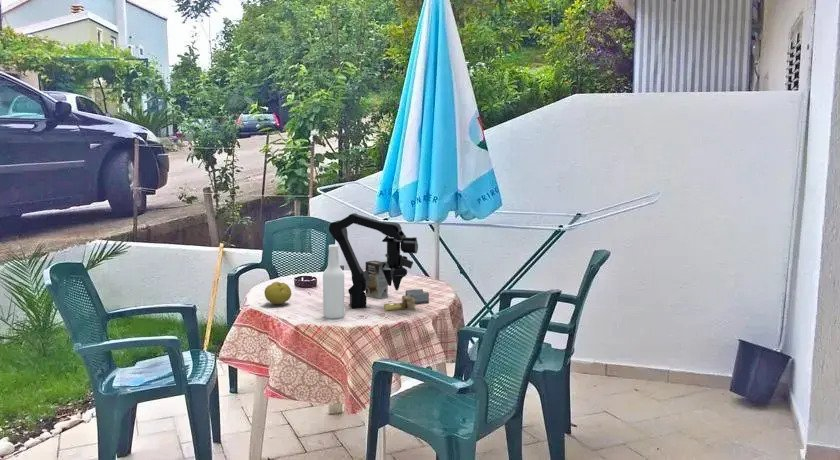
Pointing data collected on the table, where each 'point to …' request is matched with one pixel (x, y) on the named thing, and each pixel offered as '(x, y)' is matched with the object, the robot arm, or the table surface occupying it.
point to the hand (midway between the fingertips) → (393, 287)
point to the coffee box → (376, 281)
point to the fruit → (278, 293)
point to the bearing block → (409, 302)
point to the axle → (394, 306)
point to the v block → (418, 296)
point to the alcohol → (333, 286)
